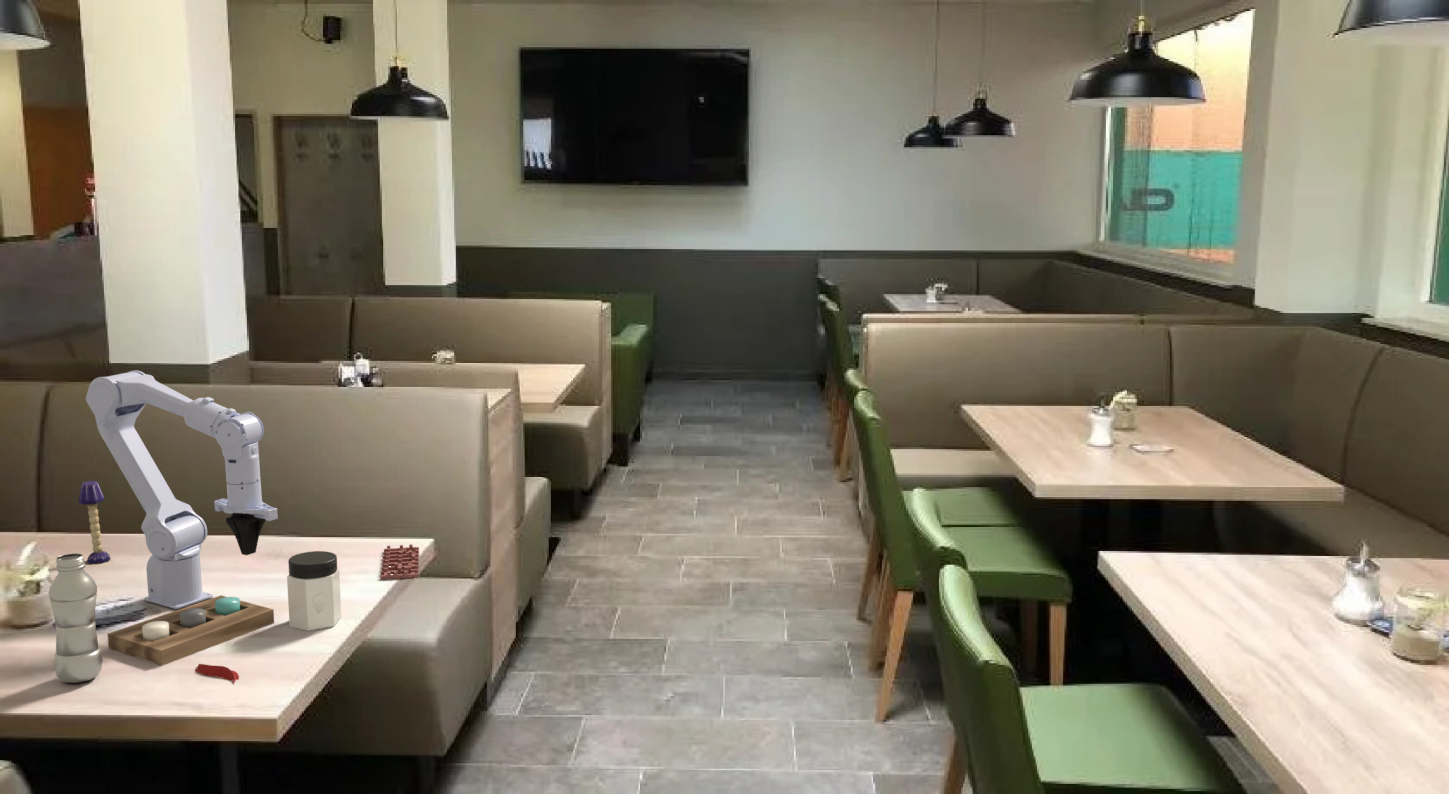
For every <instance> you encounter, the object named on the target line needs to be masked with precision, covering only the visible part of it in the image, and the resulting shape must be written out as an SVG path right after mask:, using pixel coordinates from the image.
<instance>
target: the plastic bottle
mask: <svg viewBox="0 0 1449 794" xmlns="http://www.w3.org/2000/svg"><path fill="white" fill-rule="evenodd" d="M84 559H85V557H84V554H83V553H79V552H78V553H77V552H75V553H74V552H73V553H66V554H62V555H58V556H57V557H56V558H55V561H56V562H55V563H56V566H55V568H56V571H58V573H57V575H56V576H55V578H54V579H53V581H52V582H51V584H50V586H49V590H48V598H49V601H50V605H51V609H52V613H53V619H54V626H55V634H56V636H55V654H54V660H53V662H54V664H53V669H54V672H55V675H56V678H57V679H58V680H59V681H61V682H62V683H67V684H71V683H72V684H75V683H76V684H77V683H81V682H85V681H89V680H92V679H94V678H96V677H97V676H98V675H99V674H100V672H101V671H102V668H103V661H104V659H103V655H102V651H101V648H100V647H99V640H98V634H97V628H96V607H97V605H96V604H97V598H98V597H97V596H98V595H97V592H98V586H97V583H96V581H95V579H94V578H93V577H92V576H91V575H90V574H89V573H88V572H86V570H84V568H85V567H86V562H85V560H84Z"/></svg>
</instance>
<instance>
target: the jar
mask: <svg viewBox="0 0 1449 794" xmlns="http://www.w3.org/2000/svg"><path fill="white" fill-rule="evenodd" d="M286 579H287V580H286V584H287V599H288V601H287V603H288V619H289V622H288V625H289V627H291V628H294V629H298V630H302V631H307V632H312V631H317V630H316V629H318V630H321V629H327V627H328V628H332V627H335V626H336V624H337V623H338V621H339V620H340V619H341V618H342V605H341V603H342V602H341V585H340V584H341V581H340V580H341V579H340V568H339V567H338V556H337V554H336V553H333V552H330V551H325V550H318V551H317V550H316V551H315V550H314V551H313V550H311V551H306V552H300V553H296V554H294V555H293V556H291V557H289V558H288V575H287V577H286ZM311 630H312V631H311Z"/></svg>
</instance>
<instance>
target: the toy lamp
mask: <svg viewBox="0 0 1449 794" xmlns="http://www.w3.org/2000/svg"><path fill="white" fill-rule="evenodd" d="M78 495H79V496H78V503H79V505H87V509H88V512H87V513H88V516H89V519H88V521H89V524H90V525H89V528H90V531H91V532H90V537H91V538H92V539H91V544H92V552H91V553H90V554H89V555H88V557H87V559H86V562H87V563H88V564H92V565H96V564H97V565H98V564H104V563H107V562H109V561H110V560H111V556H110V554H109V553H108V552H106V551H104V550H103V548H104V547H103V545H102V538H101V535H102V534H101V526H100V523H99V521H100V518H99V510H98V504H99V503H102V502H103V501H105V496H104V493H103V492H102V488H101V486H100V485H99V482H97V481H95V480H90V481H84V482H82V483H81V485H80V489H79V494H78Z"/></svg>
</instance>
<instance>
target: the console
mask: <svg viewBox="0 0 1449 794" xmlns="http://www.w3.org/2000/svg"><path fill="white" fill-rule="evenodd" d="M224 597H226V596H225V595H221V594H220V595H218V596H215V597H211V598H208V599H205V600H202V601H200V602H197V603H194V604H191V605H188V606H185V607H182V608H179V609H175V610H174V611H171V612H168V613H165V614H162V615H158V616H155V617H153V618H149V619H147V620H145V621H141V622H138V623H136V624H133V625H129V626H126V627H123V628H121V629H117V630H115V631H112V632H111V631H110V632H108V633H107V643H108V649H111V650H114V651H118V652H119V653H123V654H126V655H129V656H131V657H132V656H133V657H135V658H139V659H142V660H145V661H148V662H151V663H154V664H157V665H161V666H164V665H168V664H169V663H173V662H175V661H177V660H180V659H182V658H185V657H189V656H191V655H194V654H196V653H199V652H202V651H203V650H206V649H208V648H212V647H214V646H217V645H220V644H223V643H225V642H228V641H230V640H233V639H235V638H238V637H241V636H244V635H246V634H248V633H251V632H254V631H256V630H259V629H262V628H264V627H267V626H269V625H272V624H275V614H274V609H273V608H269V607H266V606H262V605H259V604H255V603H251V602H247V601H243V600H240V611H237V612H235V613H232V614H229V615H226V616H224V615H220V614H217V613H216V610H215V601H216V600H218V599H220V598H224ZM188 609H204V610H205V616H206V623H204V624H201V625H198V626H196V627H193V628H190V629H189V628H186V627H183V626H180V613H181V612H182V611H185V610H188ZM155 621H166V622H168V623H169V634H170V636H168V637H165V638H162V639H159V640H157V641H154V642H150V641H147V640H144V639H143V632H142V626H143V625H145V624H147V623H150V622H155Z"/></svg>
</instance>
